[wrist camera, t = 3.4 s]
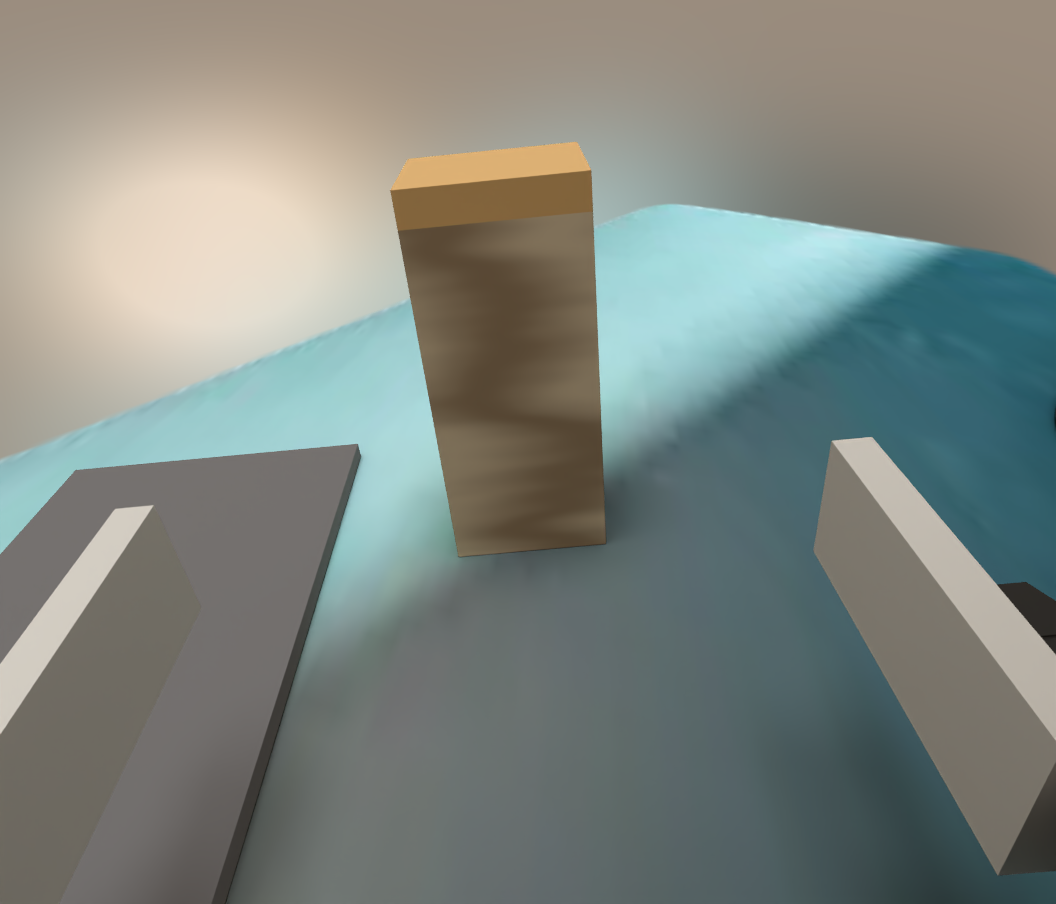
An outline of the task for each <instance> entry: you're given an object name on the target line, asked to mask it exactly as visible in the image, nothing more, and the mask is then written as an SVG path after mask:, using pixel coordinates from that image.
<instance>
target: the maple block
mask: <svg viewBox="0 0 1056 904" xmlns="http://www.w3.org/2000/svg"><path fill="white" fill-rule="evenodd" d="M390 191H391V196H392V202H393V207H394V212H395V218H396V222H397V228H398V234H399V239H400V245H401V250H402V255H403V261H404V266H405V272H406V276H407V282H408V288H409V293H410V298H411V304H412V309H413V315H414V320H415V325H416V331H417V336H418V341H419V347H420V352H421V358H422V363H423V368H424V374H425V379H426V384H427V390H428V395H429V401H430V406H431V411H432V417H433V422H434V427H435V433H436V438H437V444H438V449H439V454H440V460H441V465H442V470H443V476H444V481H445V486H446V492H447V497H448V503H449V508H450V513H451V519H452V524H453V529H454V535H455V540H456V546H457V551H458V556H459V557H463V556H474V555H485V554H497V553H508V552H519V551H530V550H542V549H553V548H564V547H575V546H587V545H598V544H606V531H605V506H604V480H603V455H602V430H601V405H600V379H599V354H598V329H597V303H596V278H595V253H594V227H593V203H592V177H591V169H590V167H589V165H588V163H587V161H586V159H585V157H584V155H583V153H582V151H581V149H580V147H579V145H578V143H577V142H571V143H560V144H550V145H540V146H531V147H521V148H512V149H501V150H491V151H482V152H471V153H462V154H452V155H442V156H432V157H422V158H413V159H408V160H407V162H406V163H405V165H404V167H403V169H402V171H401V172H400V174H399V176H398V178H397V180H396V182H395V183H394V185H393V187H392V189H391V190H390Z"/></svg>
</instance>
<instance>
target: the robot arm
mask: <svg viewBox="0 0 1056 904" xmlns="http://www.w3.org/2000/svg"><path fill="white" fill-rule="evenodd" d="M1055 418H1056V409H1055ZM814 553H815V554H816V556H817V558H818V560H819V562H820V563H821V565H822V567H823V569H824V570H825V572H826V574H827V576H828V577H829V579H830V581H831V583H832V584H833V586H834V588H835V590H836V591H837V593H838V595H839V597H840V599H841V600H842V602H843V604H844V606H845V607H846V609H847V611H848V613H849V614H850V616H851V618H852V620H853V621H854V623H855V625H856V627H857V628H858V630H859V632H860V634H861V636H862V637H863V639H864V641H865V643H866V644H867V646H868V648H869V650H870V651H871V653H872V655H873V657H874V658H875V660H876V662H877V664H878V665H879V667H880V669H881V671H882V672H883V674H884V676H885V678H886V680H887V681H888V683H889V685H890V687H891V688H892V690H893V692H894V694H895V695H896V697H897V699H898V701H899V702H900V704H901V706H902V708H903V709H904V711H905V713H906V715H907V717H908V718H909V720H910V722H911V724H912V725H913V727H914V729H915V731H916V732H917V734H918V736H919V738H920V739H921V741H922V743H923V745H924V746H925V748H926V750H927V752H928V754H929V755H930V757H931V759H932V761H933V762H934V764H935V766H936V768H937V769H938V771H939V773H940V775H941V776H942V778H943V780H944V782H945V783H946V785H947V787H948V789H949V791H950V792H951V794H952V796H953V798H954V799H955V801H956V803H957V805H958V806H959V808H960V810H961V812H962V813H963V815H964V817H965V819H966V820H967V822H968V824H969V826H970V827H971V829H972V831H973V833H974V835H975V836H976V838H977V840H978V842H979V843H980V845H981V847H982V849H983V850H984V852H985V854H986V856H987V857H988V859H989V861H990V863H991V864H992V866H993V868H994V870H995V872H996V873H997V875H998V876H999V875H1011V874H1023V873H1035V872H1046V871H1056V601H1055V600H1053V599H1052V598H1050V597H1049V596H1047V595H1045V594H1044V593H1042V592H1041V591H1039V590H1038V589H1036V588H1034V587H1033V586H1031V585H1030V584H1028V583H1027V582H1021V583H1010V584H999V585H996V583H995V582H994V581H993V580H992V579H991V577H990V576H989V575H988V574H987V573H986V572H985V570H984V569H983V568H982V567H981V566H980V564H979V563H978V562H977V561H976V560H975V559H974V557H973V556H972V555H971V554H970V553H969V551H968V550H967V549H966V548H965V547H964V546H963V544H962V543H961V542H960V541H959V540H958V538H957V537H956V536H955V535H954V534H953V532H952V531H951V530H950V529H949V528H948V527H947V525H946V524H945V523H944V522H943V521H942V519H941V518H940V517H939V516H938V515H937V514H936V512H935V511H934V510H933V509H932V508H931V506H930V505H929V504H928V503H927V502H926V501H925V499H924V498H923V497H922V496H921V495H920V493H919V492H918V491H917V490H916V489H915V488H914V486H913V485H912V484H911V483H910V482H909V480H908V479H907V478H906V477H905V476H904V475H903V473H902V472H901V471H900V470H899V469H898V467H897V466H896V465H895V464H894V463H893V461H892V460H891V459H890V458H889V457H888V456H887V454H886V453H885V452H884V451H883V450H882V448H881V447H880V446H879V445H878V444H877V443H876V441H875V440H874V439H873V438H872V437H867V438H857V439H846V440H836V441H832V442H831V448H830V454H829V460H828V466H827V472H826V478H825V484H824V490H823V496H822V502H821V509H820V515H819V521H818V527H817V533H816V539H815V545H814ZM200 609H201V606H200V603H199V601H198V599H197V597H196V595H195V593H194V590H193V588H192V586H191V584H190V582H189V580H188V578H187V575H186V573H185V571H184V569H183V567H182V565H181V562H180V560H179V558H178V556H177V554H176V552H175V550H174V547H173V545H172V543H171V541H170V539H169V537H168V534H167V532H166V530H165V528H164V526H163V524H162V522H161V519H160V517H159V515H158V513H157V511H156V509H155V507H154V505H151V506H140V507H130V508H119V509H115V510H114V511H113V512H112V514H111V515H110V516H109V518H108V519H107V520H106V522H105V523H104V524H103V526H102V527H101V529H100V530H99V531H98V533H97V534H96V535H95V537H94V538H93V539H92V541H91V542H90V543H89V545H88V546H87V547H86V549H85V550H84V551H83V553H82V554H81V556H80V557H79V558H78V560H77V561H76V562H75V564H74V565H73V566H72V568H71V569H70V570H69V572H68V573H67V574H66V576H65V577H64V578H63V580H62V581H61V583H60V584H59V585H58V587H57V588H56V589H55V591H54V592H53V593H52V595H51V596H50V597H49V599H48V600H47V601H46V603H45V604H44V605H43V607H42V608H41V610H40V611H39V612H38V614H37V615H36V616H35V618H34V619H33V620H32V622H31V623H30V624H29V626H28V627H27V628H26V630H25V631H24V632H23V634H22V635H21V637H20V638H19V639H18V641H17V642H16V643H15V645H14V646H13V647H12V649H11V650H10V651H9V653H8V654H7V655H6V657H5V658H4V659H3V661H2V662H1V664H0V904H59V903H60V900H61V898H62V896H63V894H64V892H65V890H66V888H67V886H68V884H69V882H70V880H71V878H72V875H73V873H74V871H75V869H76V867H77V865H78V863H79V861H80V859H81V857H82V855H83V853H84V851H85V848H86V846H87V844H88V842H89V840H90V838H91V836H92V834H93V832H94V830H95V828H96V826H97V824H98V821H99V819H100V817H101V815H102V813H103V811H104V809H105V807H106V805H107V803H108V801H109V799H110V796H111V794H112V792H113V790H114V788H115V786H116V784H117V782H118V780H119V778H120V776H121V774H122V772H123V769H124V767H125V765H126V763H127V761H128V759H129V757H130V755H131V753H132V751H133V749H134V747H135V745H136V742H137V740H138V738H139V736H140V734H141V732H142V730H143V728H144V726H145V724H146V722H147V720H148V718H149V715H150V713H151V711H152V709H153V707H154V705H155V703H156V701H157V699H158V697H159V695H160V693H161V690H162V688H163V686H164V684H165V682H166V680H167V678H168V676H169V674H170V672H171V670H172V668H173V666H174V663H175V661H176V659H177V657H178V655H179V653H180V651H181V649H182V647H183V645H184V643H185V641H186V639H187V636H188V634H189V632H190V630H191V628H192V626H193V624H194V622H195V620H196V618H197V616H198V614H199V611H200Z"/></svg>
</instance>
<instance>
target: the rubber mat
mask: <svg viewBox="0 0 1056 904" xmlns="http://www.w3.org/2000/svg"><path fill="white" fill-rule="evenodd" d="M360 457H361V454H360V450H359V447H358V444H352V445H341V446H331V447H320V448H309V449H298V450H288V451H277V452H266V453H255V454H245V455H234V456H223V457H212V458H202V459H191V460H180V461H169V462H159V463H148V464H137V465H126V466H116V467H105V468H94V469H83V470H75V471H74V473H73V474H72V475H71V476H70V477H69V478H68V479H67V480H66V482H65V483H64V484H63V485H62V486H61V487H60V488H59V489H58V491H57V492H56V493H55V494H54V495H53V496H52V497H51V498H50V499H49V501H48V502H47V503H46V504H45V505H44V506H43V507H42V508H41V510H40V511H39V512H38V513H37V514H36V515H35V516H34V517H33V519H32V520H31V521H30V522H29V523H28V524H27V525H26V526H25V527H24V529H23V530H22V531H21V532H20V533H19V534H18V535H17V536H16V538H15V539H14V540H13V541H12V542H11V543H10V544H9V545H8V547H7V548H6V549H5V550H4V551H3V552H2V553H1V554H0V664H1V662H2V661H3V659H4V658H5V657H6V655H7V654H8V653H9V651H10V650H11V649H12V647H13V646H14V645H15V643H16V642H17V641H18V639H19V638H20V637H21V635H22V634H23V632H24V631H25V630H26V628H27V627H28V626H29V624H30V623H31V622H32V620H33V619H34V618H35V616H36V615H37V614H38V612H39V611H40V610H41V608H42V607H43V605H44V604H45V603H46V601H47V600H48V599H49V597H50V596H51V595H52V593H53V592H54V591H55V589H56V588H57V587H58V585H59V584H60V583H61V581H62V580H63V578H64V577H65V576H66V574H67V573H68V572H69V570H70V569H71V568H72V566H73V565H74V564H75V562H76V561H77V560H78V558H79V557H80V556H81V554H82V553H83V551H84V550H85V549H86V547H87V546H88V545H89V543H90V542H91V541H92V539H93V538H94V537H95V535H96V534H97V533H98V531H99V530H100V529H101V527H102V526H103V524H104V523H105V522H106V520H107V519H108V518H109V516H110V515H111V514H112V512H113V511H114V510H115V509H119V508H130V507H140V506H151V505H154V507H155V509H156V511H157V513H158V515H159V517H160V519H161V522H162V524H163V526H164V528H165V530H166V532H167V534H168V537H169V539H170V541H171V543H172V545H173V547H174V550H175V552H176V554H177V556H178V558H179V560H180V562H181V565H182V567H183V569H184V571H185V573H186V575H187V578H188V580H189V582H190V584H191V586H192V588H193V590H194V593H195V595H196V597H197V599H198V601H199V603H200V606H201V609H200V611H199V614H198V616H197V618H196V620H195V622H194V624H193V626H192V628H191V630H190V632H189V634H188V636H187V639H186V641H185V643H184V645H183V647H182V649H181V651H180V653H179V655H178V657H177V659H176V661H175V663H174V666H173V668H172V670H171V672H170V674H169V676H168V678H167V680H166V682H165V684H164V686H163V688H162V690H161V693H160V695H159V697H158V699H157V701H156V703H155V705H154V707H153V709H152V711H151V713H150V715H149V718H148V720H147V722H146V724H145V726H144V728H143V730H142V732H141V734H140V736H139V738H138V740H137V742H136V745H135V747H134V749H133V751H132V753H131V755H130V757H129V759H128V761H127V763H126V765H125V767H124V769H123V772H122V774H121V776H120V778H119V780H118V782H117V784H116V786H115V788H114V790H113V792H112V794H111V796H110V799H109V801H108V803H107V805H106V807H105V809H104V811H103V813H102V815H101V817H100V819H99V821H98V824H97V826H96V828H95V830H94V832H93V834H92V836H91V838H90V840H89V842H88V844H87V846H86V848H85V851H84V853H83V855H82V857H81V859H80V861H79V863H78V865H77V867H76V869H75V871H74V873H73V875H72V878H71V880H70V882H69V884H68V886H67V888H66V890H65V892H64V894H63V896H62V898H61V900H60V903H59V904H225V902H226V898H227V895H228V892H229V889H230V885H231V882H232V879H233V875H234V872H235V869H236V865H237V862H238V859H239V856H240V852H241V849H242V846H243V842H244V839H245V836H246V833H247V829H248V826H249V823H250V819H251V816H252V813H253V810H254V806H255V803H256V800H257V796H258V793H259V790H260V786H261V783H262V780H263V777H264V773H265V770H266V767H267V763H268V760H269V757H270V754H271V750H272V747H273V744H274V740H275V737H276V734H277V731H278V727H279V724H280V721H281V717H282V714H283V711H284V707H285V704H286V701H287V698H288V694H289V691H290V688H291V684H292V681H293V678H294V675H295V671H296V668H297V665H298V661H299V658H300V655H301V652H302V648H303V645H304V642H305V638H306V635H307V632H308V628H309V625H310V622H311V619H312V615H313V612H314V609H315V605H316V602H317V599H318V596H319V592H320V589H321V586H322V582H323V579H324V576H325V573H326V569H327V566H328V563H329V559H330V556H331V553H332V549H333V546H334V543H335V540H336V536H337V533H338V530H339V526H340V523H341V520H342V517H343V513H344V510H345V507H346V503H347V500H348V497H349V494H350V490H351V487H352V484H353V480H354V477H355V474H356V470H357V467H358V464H359V461H360Z"/></svg>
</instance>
